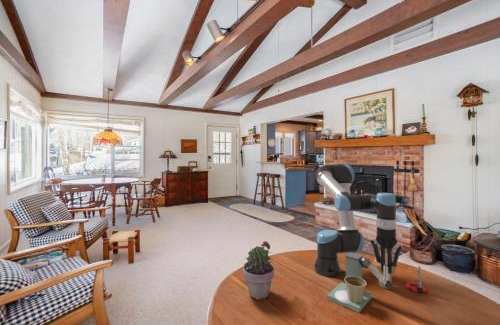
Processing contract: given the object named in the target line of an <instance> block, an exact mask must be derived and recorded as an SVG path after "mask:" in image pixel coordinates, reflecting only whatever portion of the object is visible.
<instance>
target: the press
mask: <svg viewBox="0 0 500 325" xmlns="http://www.w3.org/2000/svg"><path fill="white" fill-rule="evenodd" d="M363 255H364V254H363ZM363 255H362V254H359V253H352V252H349V253H345V257H344V258H345V277H347V276H355V277H359V278H362V279H363V267H362V266H361V265H360V261H361V260H362V259H363V258H364V257H363ZM372 298H373V293H371V292H369V291H367V290H364V294H363V301H362V302H361V303H359V302H358V303H355V302H352V301H350V300H349V298H348V294H347V286H346V283H344V282H340V283H339V284H338V285H337V286H336V287H334V288H333V289H332V290H331V291H330V292H329V293H327V295H326V299H327V300H328V301H331V302H333V303H335V304H337V305H340V306H342V307H344V308H347V309H349V310H352V311H354V312H356V313H358V314H360V313H361V311H362V310H363V309H364V308H365V306H367V304H368V303H369V301H370V300H372Z"/></svg>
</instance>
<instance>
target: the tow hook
mask: <svg viewBox="0 0 500 325" xmlns="http://www.w3.org/2000/svg"><path fill="white" fill-rule="evenodd" d="M412 286H415V287H412ZM405 287H406V288H407V289H409V290H411V291H412V292H413V293H420V294H423V293H425V294H428V292H429V291H428V289H426V287H425V286H424V285H422V271H421V266H420V265H418V270H417V282H412V281H411V282H410V281H409V282H406V283H405Z"/></svg>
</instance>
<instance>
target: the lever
mask: <svg viewBox="0 0 500 325" xmlns="http://www.w3.org/2000/svg"><path fill="white" fill-rule="evenodd" d="M360 265H361V266H362V269H367V270H369V272H370V273H372V275H374V277H376V279H379V280H380V281H381V282H382V283H383V284H384V285H385V287H386V288H389V290H390V289H392V288H393V283H392V281H391V282H390V281H386V280H384V276H383V275H382V274H381V273H380V272H379V271H377V270H376V269H375V266H374V265H373V264H372V261H371V260H370V258H368V257H363V258H362V260H361V261H360ZM379 280H378V281H379Z"/></svg>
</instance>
